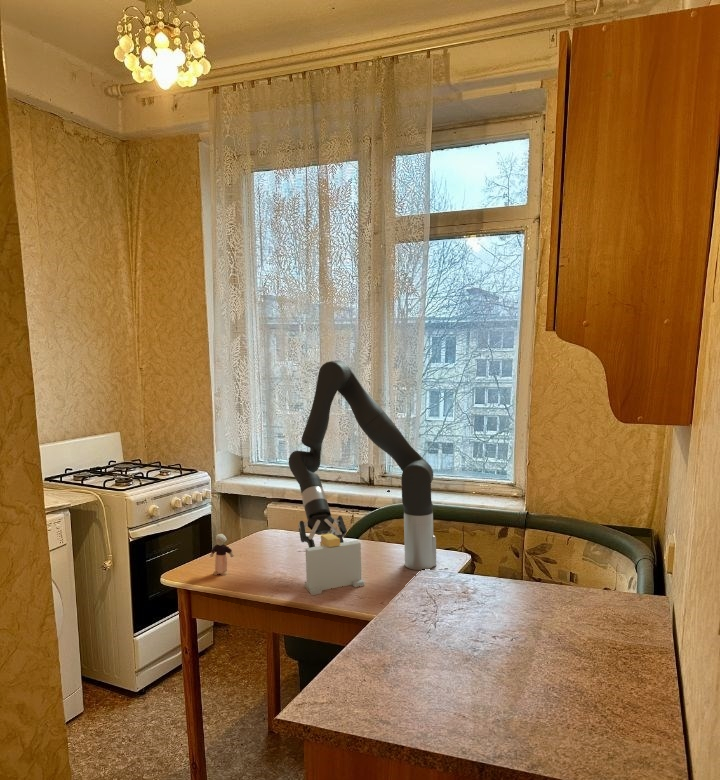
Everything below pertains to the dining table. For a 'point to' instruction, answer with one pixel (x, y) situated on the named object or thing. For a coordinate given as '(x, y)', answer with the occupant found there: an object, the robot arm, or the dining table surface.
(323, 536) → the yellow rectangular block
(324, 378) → the robot arm
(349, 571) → the wall board
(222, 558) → the grandmother figurine
